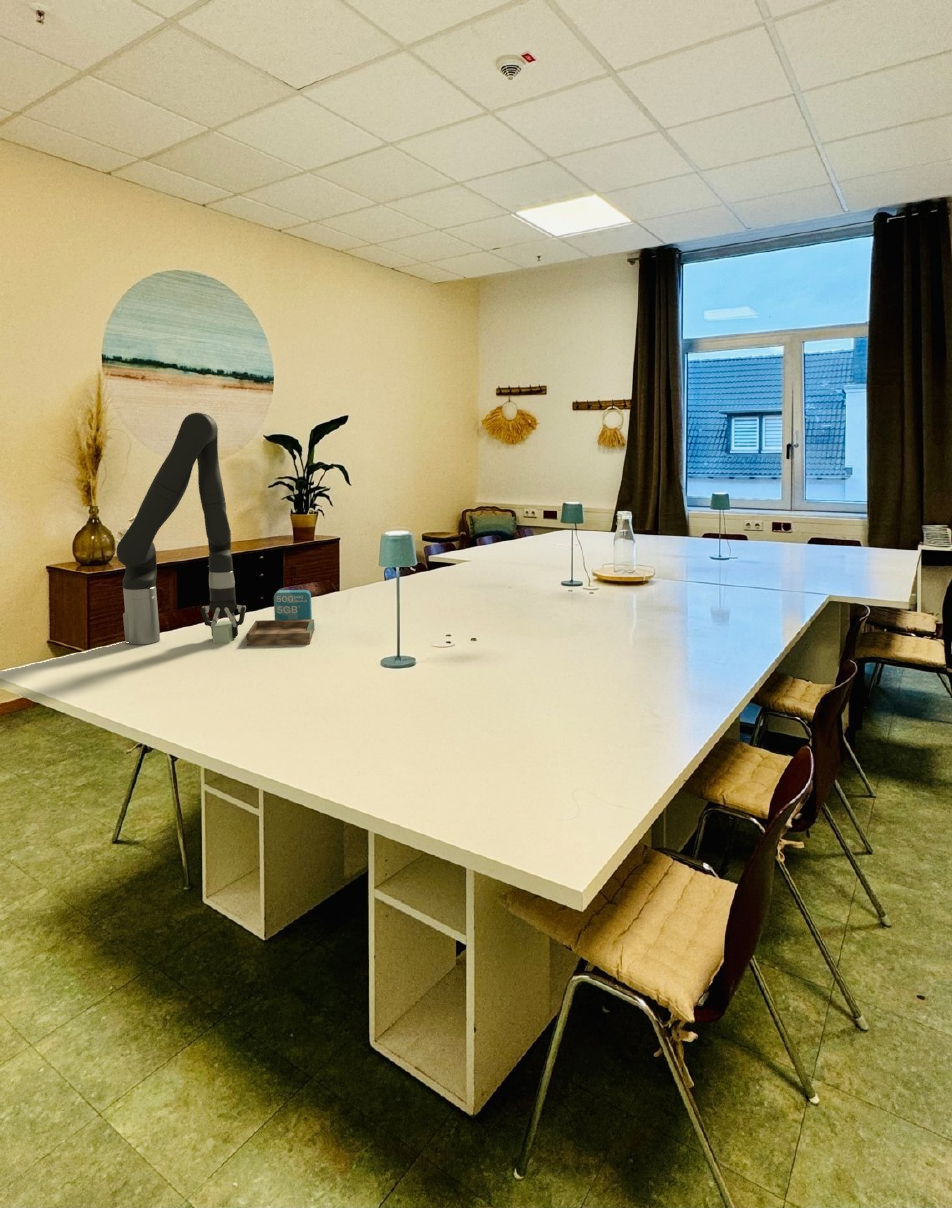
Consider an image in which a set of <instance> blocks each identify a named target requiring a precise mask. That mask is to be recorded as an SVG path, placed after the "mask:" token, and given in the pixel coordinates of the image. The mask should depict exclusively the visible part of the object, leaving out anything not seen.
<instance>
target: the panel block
mask: <svg viewBox="0 0 952 1208" xmlns="http://www.w3.org/2000/svg"><path fill="white" fill-rule="evenodd" d="M232 627H233V625H232V623H231V621H230V620H219V621H217V624H216V625H215V626H214V627H213V628H212V631H211V633H212V632H213V637H212V643H213V644H231V642H232V641H233V640H234V639H235V638H233V635H232Z"/></svg>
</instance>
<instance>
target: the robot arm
mask: <svg viewBox="0 0 952 1208" xmlns="http://www.w3.org/2000/svg"><path fill="white" fill-rule="evenodd" d="M218 430H219V429H218V424H217V422H216V420H214V418H213V417H212V416H211V415H209V414H207V413H202V412H191V413H189V414H188V415H185V417H184V418H183V421H182V422H181V425H180V427H179V430H178V432H177V435H176V438H175V440H174V443H173V445H172V447H171V449H170V451H169V453H168V454H167V456H166V457H165V459H164V461H163V462H162V464H161V466H160V468H159V469H158V471H157V473H156V475H154V477H153V480H152V482H151V484H150V486H149V487H148V490H147V492H146V494H145V496H144V498H143V499H142V500H143V501H142V502H141V503H140V507H139V509H138V511H137V512H136V516H135V518H134V520H133V521H132V522H131V524H130V526H129V527H128V529H127V530H126V532H125V533H124V535H123V536H122V538H121V539H120V541H119V542H118V544H117V546H116V553H115V554H116V557H117V560H118V562H119V563H121V564H122V565H123V566H125V572H124V576H123V578H122V589H123V590H122V592H123V602H124V604H123V605H124V612H123V614H122V618H123V627H124V628H123V629H124V640H125V644H126V645H127V644H130V645H149V644H153V643H157V642H159V641H160V640H161V635H160V634H161V633H160V620H159V609H158V600H157V599H158V597H157V585H156V584H157V583H156V582H157V577H158V575H157V574H158V569H157V566H158V565H157V552H156V546H155V543H154V539H155V537H156V535H157V534H158V532H159V530H160V528H161V527H162V526H163V525H164V524H165V522H167V521H168V519H169V518H170V516H171V515H172V514H173V512H175V510H176V509H177V507H178V506H179V504H180V503H181V500H182V499H183V497H184V496H185V493H186V491H187V488H188V486H189V483H190V480H191V475H192V472H193V468H194V465H195V462H196V461H197V462H196V463H197V472H198V474H197V477H198V479H197V481H198V482H197V483H198V492H199V493H198V494H199V498H200V503H201V509H202V512H203V516H204V518H203V519H204V527H205V532H206V533H205V534H206V538H207V544H208V551H209V552H208V572H209V573H208V587H209V605H202V606H201V607H200V610H199V611H200V613H201V617H202V620H203V623H204V625H205V626H207V627H210V628H211V637H212V638H213V632H212V628H213V627H214V626H215V625H216V624H217V623H218V622H219V621H218V620H219V619H220V618H228V621H231V623H232V625H233V627H232V635H233V638H234V639H236V638H237V637H238V635H239V628H238V627H239V626H242V625H243V623H244V622H245V621H244V620H245V617H246V611H247V606H246V605H241V604H238V603H237V600H236V587H235V585H236V581H235V575H234V565H233V556H232V537H231V536H232V535H231V534H232V533H231V528H230V524H229V520H228V519H229V518H228V514H227V504H226V502H227V501H226V498H225V491H224V485H223V481H222V480H223V479H222V476H221V470H220V463H219V452H218V450H219V449H218V447H219V445H218V444H219V442H218V440H219V439H218V435H219V434H218V433H219V432H218ZM236 610H238V613H239V617H238V620H237V618H236V616H235V613H234V612H235V611H236ZM210 611H211V612H212V614H213V617H212V620H211V619H210V617H209V612H210ZM126 642H129V643H126Z"/></svg>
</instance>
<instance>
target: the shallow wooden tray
mask: <svg viewBox="0 0 952 1208" xmlns="http://www.w3.org/2000/svg"><path fill="white" fill-rule="evenodd" d="M314 632H315V619H314V618H312V619H308V620H275V619H273V620H271V619H270V620H262V619H261V620H255V621H254V623H253V624H252V626H251V627H250V628H249V630H248V631H247V633H246V646H251V647H253V646H256V647H257V646H283V645H284V646H287V645H288V646H289V645H291V646H292V645H293V646H294V645H310V644H311V642H312V638H313V636H314Z"/></svg>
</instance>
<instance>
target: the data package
mask: <svg viewBox="0 0 952 1208" xmlns="http://www.w3.org/2000/svg"><path fill="white" fill-rule="evenodd" d="M273 606H274V607H273V610H274V612H273V613H274V620H308V619H313V614H312V594H311V592H310V590H308V589H307V590H306V589H297V590H296V589H293V590H292V589H290V590H289V589H287V590H285V589H284V590H281V589H280V590H277V591H276V592H275V593H274V596H273Z"/></svg>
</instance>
